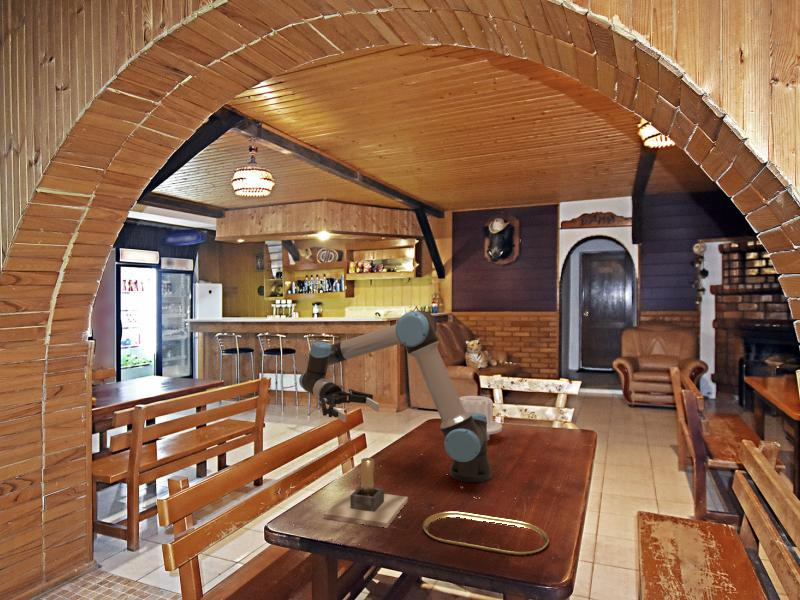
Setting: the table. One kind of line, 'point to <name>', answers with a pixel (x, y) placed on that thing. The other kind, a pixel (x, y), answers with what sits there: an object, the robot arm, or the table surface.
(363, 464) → the brass post
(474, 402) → the flanged gear
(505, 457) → the table surface
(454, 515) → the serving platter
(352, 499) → the socket board
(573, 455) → the table surface
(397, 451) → the table surface
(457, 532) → the table surface
